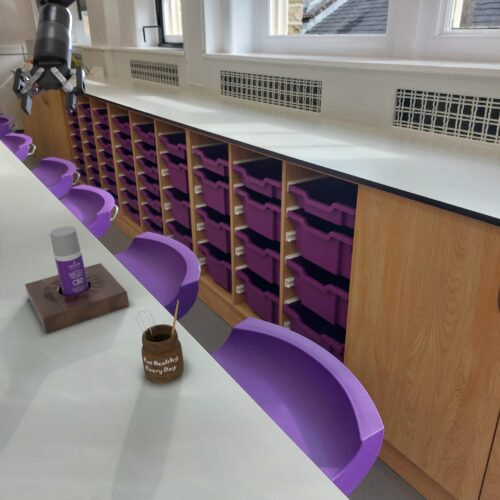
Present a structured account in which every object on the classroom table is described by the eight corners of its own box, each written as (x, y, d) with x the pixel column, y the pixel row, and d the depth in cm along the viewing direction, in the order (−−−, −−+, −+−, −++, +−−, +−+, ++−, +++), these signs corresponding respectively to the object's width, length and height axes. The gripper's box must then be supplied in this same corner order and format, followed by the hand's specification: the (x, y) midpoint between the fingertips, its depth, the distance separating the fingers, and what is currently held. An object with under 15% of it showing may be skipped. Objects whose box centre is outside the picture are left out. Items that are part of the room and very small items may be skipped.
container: (80, 311, 91) (64, 237, 84) (60, 307, 92) (43, 234, 86) (96, 298, 95) (82, 227, 88) (76, 295, 96) (61, 225, 90)
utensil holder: (147, 361, 76) (136, 295, 71) (187, 358, 77) (179, 291, 72) (142, 386, 71) (130, 316, 66) (185, 383, 71) (177, 313, 66)
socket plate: (46, 335, 84) (42, 317, 83) (28, 299, 95) (24, 284, 94) (129, 307, 91) (126, 291, 90) (103, 277, 103) (100, 262, 101)
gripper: (12, 37, 102) (4, 101, 96) (80, 34, 102) (76, 98, 97) (27, 62, 109) (20, 124, 103) (91, 59, 109) (88, 120, 104)
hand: (47, 111), depth 100 cm, fingers open, 8 cm apart
